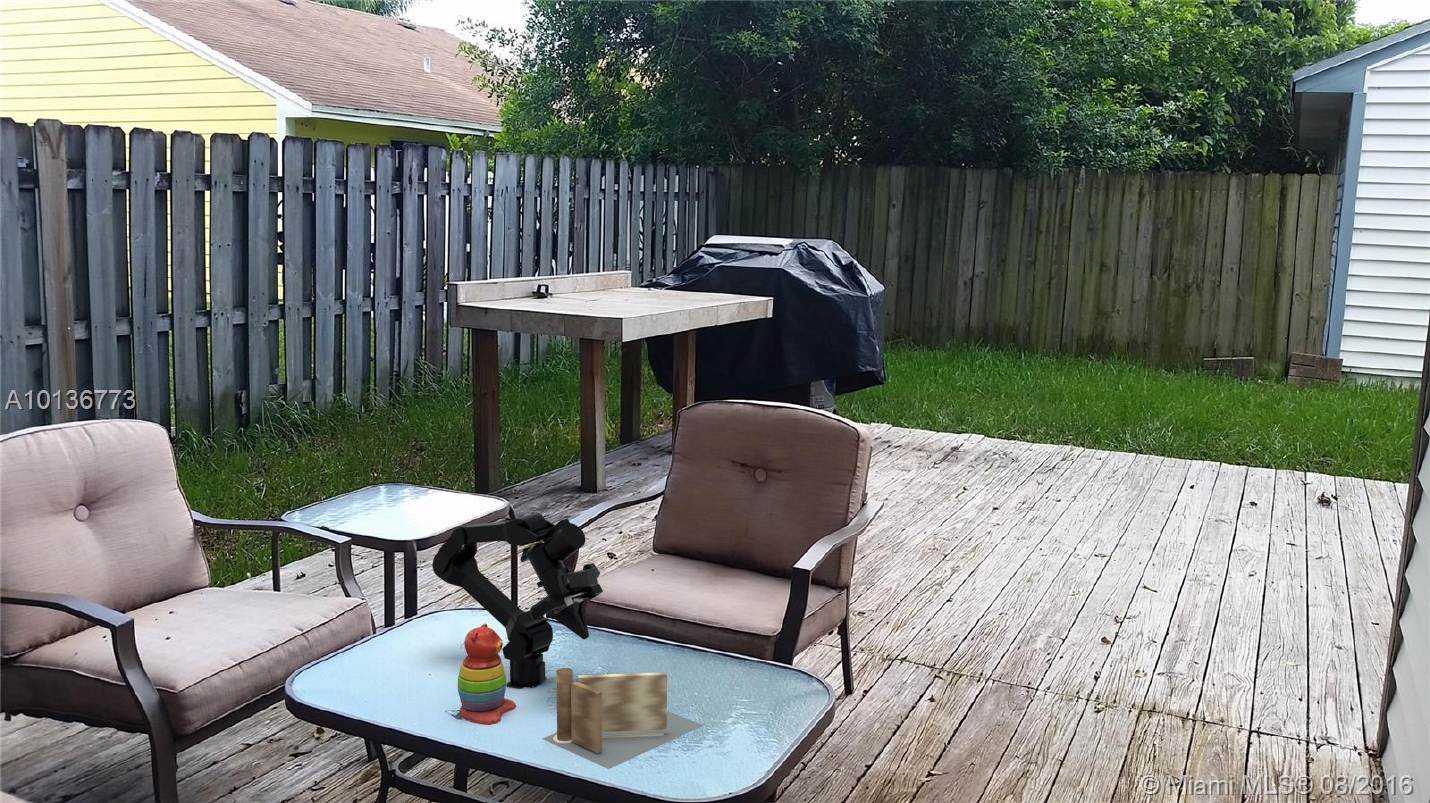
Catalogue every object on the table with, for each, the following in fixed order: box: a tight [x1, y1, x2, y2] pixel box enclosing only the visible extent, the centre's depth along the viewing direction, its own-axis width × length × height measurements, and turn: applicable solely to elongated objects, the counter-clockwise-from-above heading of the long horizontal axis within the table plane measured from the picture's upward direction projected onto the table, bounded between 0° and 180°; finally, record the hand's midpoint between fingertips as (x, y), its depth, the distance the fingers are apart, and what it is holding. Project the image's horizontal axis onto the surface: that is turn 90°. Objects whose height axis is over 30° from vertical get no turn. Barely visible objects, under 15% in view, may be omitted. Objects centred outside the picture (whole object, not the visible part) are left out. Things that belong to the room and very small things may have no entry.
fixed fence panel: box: [555, 667, 602, 753], centre depth 214 cm, size 11×3×13 cm, turn 48°
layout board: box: [542, 710, 704, 770], centre depth 221 cm, size 18×25×1 cm
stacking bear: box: [457, 623, 517, 726], centre depth 228 cm, size 11×10×18 cm
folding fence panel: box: [577, 671, 668, 732], centre depth 218 cm, size 16×1×11 cm, turn 97°
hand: (586, 638), depth 234 cm, fingers closed
